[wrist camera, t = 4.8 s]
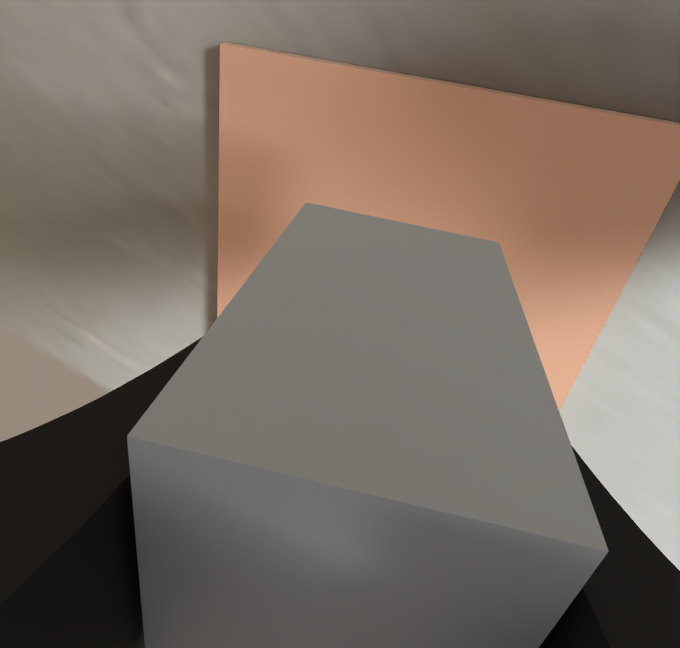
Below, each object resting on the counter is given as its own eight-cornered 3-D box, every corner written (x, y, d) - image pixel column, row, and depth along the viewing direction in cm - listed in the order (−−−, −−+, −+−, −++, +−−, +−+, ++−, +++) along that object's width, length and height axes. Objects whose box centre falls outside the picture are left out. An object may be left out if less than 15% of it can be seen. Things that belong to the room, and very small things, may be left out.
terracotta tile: (692, 125, 14) (705, 130, 14) (534, 439, 21) (537, 453, 21) (229, 42, 15) (220, 43, 14) (223, 371, 22) (216, 382, 21)
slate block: (499, 242, 10) (607, 551, 4) (445, 395, 12) (463, 752, 6) (305, 202, 10) (127, 435, 4) (285, 359, 12) (146, 667, 6)
